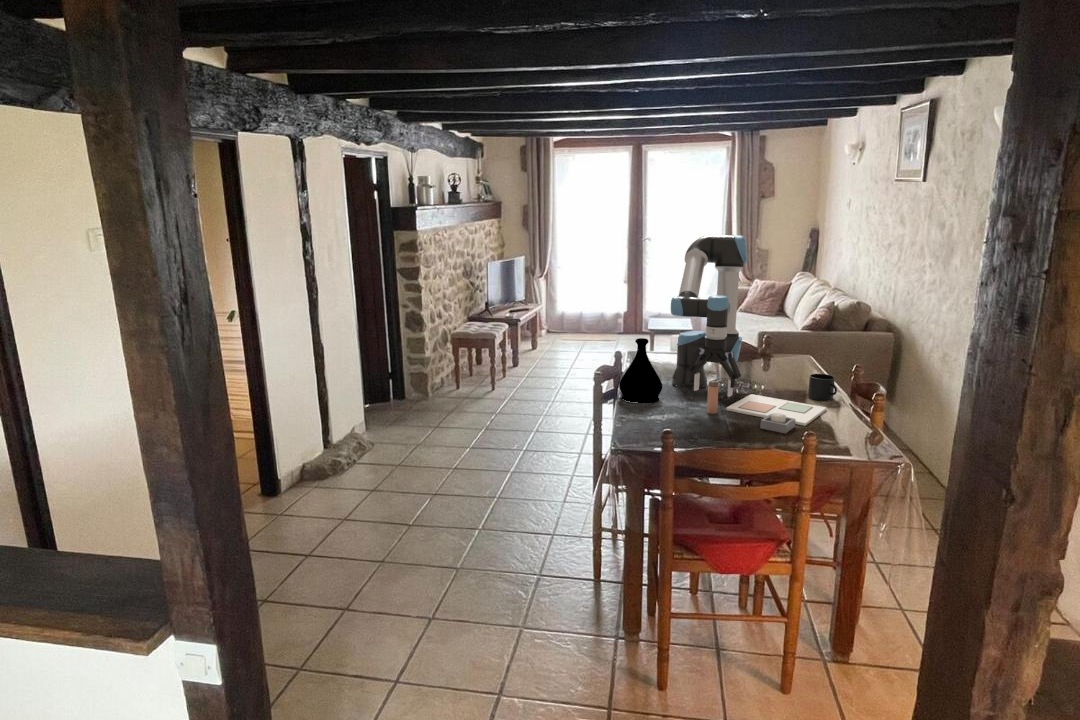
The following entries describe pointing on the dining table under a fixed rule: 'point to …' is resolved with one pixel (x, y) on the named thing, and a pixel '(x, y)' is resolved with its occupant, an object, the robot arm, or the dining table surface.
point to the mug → (821, 387)
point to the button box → (777, 424)
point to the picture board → (777, 408)
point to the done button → (778, 418)
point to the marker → (712, 397)
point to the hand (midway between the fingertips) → (712, 393)
